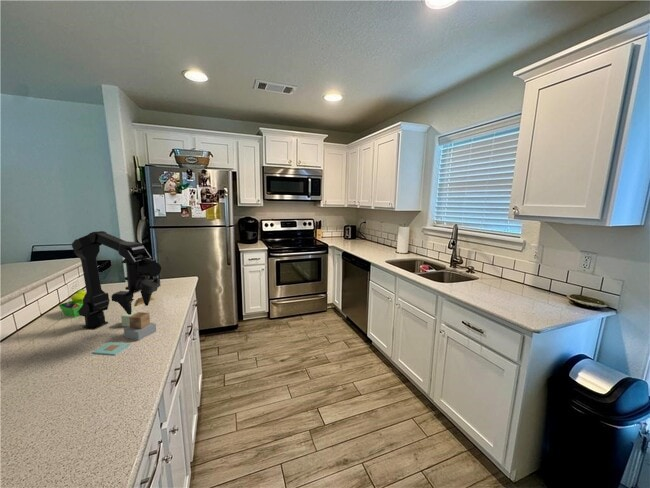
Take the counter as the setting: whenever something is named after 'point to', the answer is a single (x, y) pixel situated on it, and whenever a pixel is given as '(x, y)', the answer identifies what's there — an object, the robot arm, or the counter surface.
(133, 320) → the walnut cube
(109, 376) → the counter surface
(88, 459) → the counter surface
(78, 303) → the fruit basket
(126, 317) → the sage cube
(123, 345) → the card
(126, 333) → the slate block
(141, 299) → the shard
